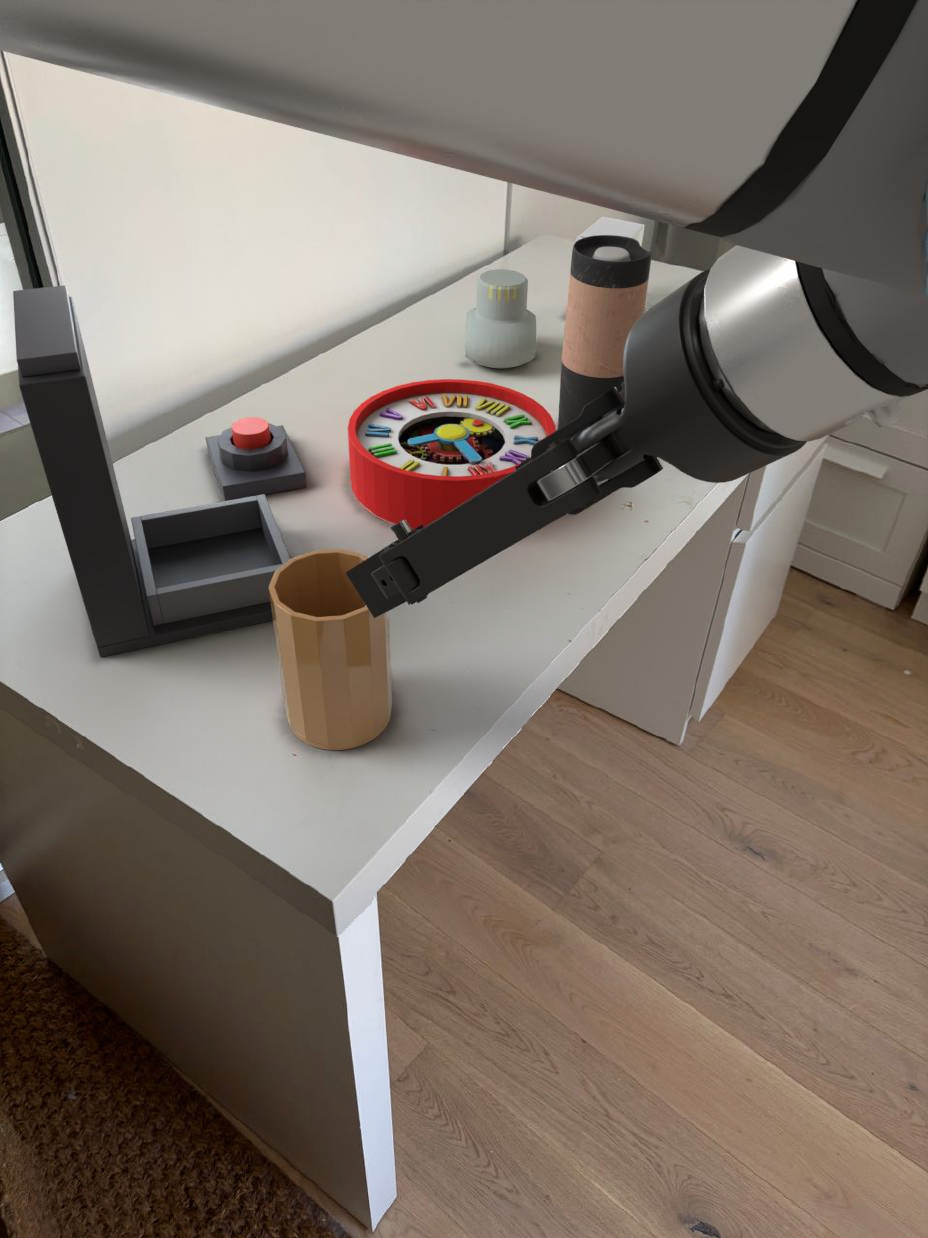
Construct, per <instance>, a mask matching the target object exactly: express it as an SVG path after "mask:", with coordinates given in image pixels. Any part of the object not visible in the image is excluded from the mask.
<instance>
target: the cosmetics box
mask: <svg viewBox="0 0 928 1238" xmlns="http://www.w3.org/2000/svg"><path fill="white" fill-rule="evenodd" d="M644 231H645V224H642V223H638V222H634V221H628V220H624V219H623V220H622V219H618V218H614V217H608V216H601V217H600V218H598V219H597V220H596V221H595V222H594V223H592V224H591V225H590V226H589V227H588V228H586V229H585V230H584V231H583V232H581V234H579V235H578V236H576V237H575V238H574V243H575V242H577V241H578V240H580V239H582V238H585V237H590V236H597V235H615V236H624V237H629V238H633V239H635V240H637V241H638V242H639V243H640V246H641V247H642V245H643V237H644Z"/></svg>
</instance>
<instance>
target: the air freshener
mask: <svg viewBox="0 0 928 1238" xmlns="http://www.w3.org/2000/svg"><path fill="white" fill-rule="evenodd" d="M476 285H477V286H476V307H473V308H472V309H470V310H469V311H467V312H466V314H465V315H466V316H465V344H464V345H465V346H464V356H465V357H466V358H467V359H469V360H470V361H472V362H473V363H475V364H477V365H480V366H483V367H485V368H491V369H512V368H516V367H519V366H522V365H524V364H527V363H529V362H530V361H532V360H533V359H535V357H536V352H537V351H536V350H537V316H536V314H535V313H533V312H532V311H530V310H529V309H527V308H528V291H529V290H528V287H529V280H528V278H527V277H526V275H525V274H523V273H522V272H519V271H516V270H513V269H506V268H505V269H504V268H500V269H499V268H498V269H490V270H487V271H484V272H482V273H481V274H480V275H479V276H478V277H477V284H476Z"/></svg>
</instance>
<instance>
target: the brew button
mask: <svg viewBox="0 0 928 1238" xmlns="http://www.w3.org/2000/svg"><path fill="white" fill-rule="evenodd" d="M269 423H270V422H269V421H267V420H266V418H265V419H264V418H262V417H257V416H248V417H243V418H239V419H237V420H236V421H234V422H233V423H232V424H231V427H232V435H233V441H234V445H235V446H236V447H238V448H243V449H256V448H262V447H264V446H266V445H268V444H269V443H270V441H271V437H270V429H269Z"/></svg>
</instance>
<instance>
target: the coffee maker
mask: <svg viewBox="0 0 928 1238" xmlns="http://www.w3.org/2000/svg"><path fill="white" fill-rule="evenodd" d="M12 297H13V319H14V335H15V336H14V337H15V338H14V339H15V356H16V357H15V358H16V363H17V370H18V371H17V376H18V387H19V390H20V394H21V397H22V401H23V403H24V407H25V410H26V414H27V417H28V420H29V424H30V426H31V431H32V434H33V437H34V441H35V444H36V447H37V451H38V454H39V457H40V460H41V464H42V467H43V470H44V474H45V479H46V481H47V485H48V488H49V491H50V494H51V498H52V502H53V504H54V508H55V511H56V514H57V518H58V521H59V525H60V528H61V531H62V535H63V538H64V541H65V545H66V547H67V548H66V549H67V551H68V555H69V558H70V562H71V565H72V568H73V571H74V575H75V579H76V581H77V585H78V588H79V591H80V595H81V598H82V602H83V606H84V608H85V612H86V615H87V618H88V621H89V626H90V629H91V632H92V635H93V639H94V642H95V646H96V648H97V652H98V655H99V658H103V657H108V656H113V655H117V654H122V653H126V652H131V651H134V650H141V649H146V648H149V647H154V646H160V645H163V644H168V643H173V642H177V641H178V642H179V641H182V640H183V641H184V640H187V639H191V638H196V637H200V636H205V635H210V634H215V633H216V634H217V633H220V632H224V631H228V630H234V629H238V628H243V627H247V626H252V625H257V624H261V623H267V622H273V617H272V610H271V603H270V595H269V585H270V582H271V580H272V577H273V575H274V572H275V571H276V570H277V569H279V568H280V567H281V566H282V565H284V564H285V563H286V562H287V561H289V560H290V559H291V557H290V553H289V551H288V549H287V546H286V544H285V541H284V539H283V536H282V534H281V532H280V529H279V527H278V524H277V521H276V519H275V517H274V514H273V512H272V509H271V506H270V503H269V502H268V499H267V497H266V494H262V495H257V496H251V497H246V498H240V499H234V500H229V501H225V500H224V501H218V502H213V503H206V504H200V505H195V506H189V507H184V508H179V509H172V510H167V511H161V512H156V513H149V514H144V515H138V516H132V517H130V521H131V526H132V530H133V531H132V532H133V536H134V538H132V536H131V533H130V532H131V531H130V527H129V524H128V520H127V517H126V513H125V509H124V504H123V500H122V496H121V492H120V487H119V484H118V480H117V475H116V471H115V467H114V464H113V459H112V454H111V451H110V446H109V442H108V439H107V438H108V437H107V434H106V431H105V427H104V422H103V417H102V414H101V411H100V406H99V402H98V398H97V394H96V390H95V385H94V381H93V377H92V373H91V368H90V365H89V361H88V356H87V353H86V349H85V344H84V341H83V337H82V332H81V328H80V323H79V319H78V316H77V311H76V309H75V308H76V307H75V304H74V299H73V297H72V296H69V293H68V288H67V286H66V285H55V286H46V287H37V288H28V289H19V290H13V291H12Z"/></svg>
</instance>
